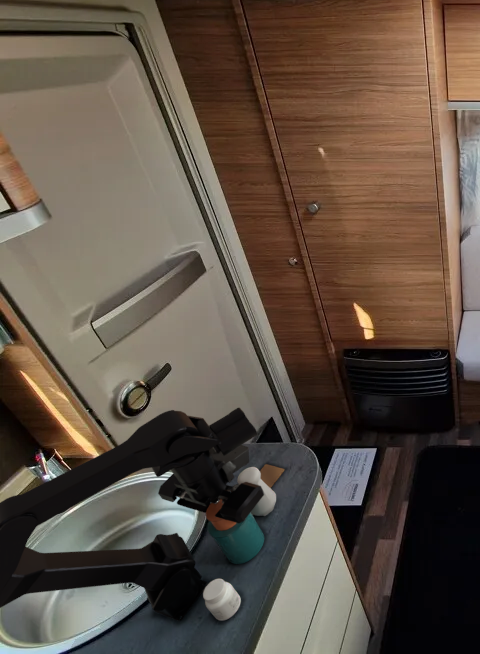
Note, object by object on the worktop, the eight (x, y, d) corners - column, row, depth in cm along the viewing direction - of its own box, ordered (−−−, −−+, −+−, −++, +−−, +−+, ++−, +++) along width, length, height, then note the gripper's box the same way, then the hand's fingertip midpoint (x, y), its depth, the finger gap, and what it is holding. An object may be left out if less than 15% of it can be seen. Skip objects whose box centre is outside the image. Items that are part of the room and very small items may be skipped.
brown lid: (228, 534, 80) (221, 523, 78) (207, 527, 82) (199, 516, 79) (248, 509, 85) (242, 498, 83) (228, 502, 86) (221, 491, 84)
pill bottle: (237, 588, 82) (223, 569, 78) (244, 607, 80) (230, 589, 76) (212, 607, 80) (196, 588, 76) (218, 627, 77) (203, 609, 73)
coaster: (268, 490, 99) (268, 489, 99) (249, 485, 101) (248, 484, 100) (284, 470, 104) (284, 469, 104) (266, 464, 105) (265, 463, 105)
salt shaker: (271, 520, 93) (253, 487, 87) (246, 520, 94) (226, 486, 87) (283, 495, 98) (267, 462, 92) (259, 495, 98) (241, 461, 92)
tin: (247, 569, 85) (228, 541, 79) (219, 559, 87) (198, 531, 81) (272, 533, 91) (256, 505, 85) (245, 525, 93) (227, 497, 87)
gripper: (271, 443, 79) (293, 490, 87) (193, 422, 83) (221, 469, 91) (225, 498, 70) (254, 545, 78) (139, 472, 74) (176, 519, 82)
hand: (226, 516), depth 83 cm, fingers closed on brown lid, 5 cm apart
